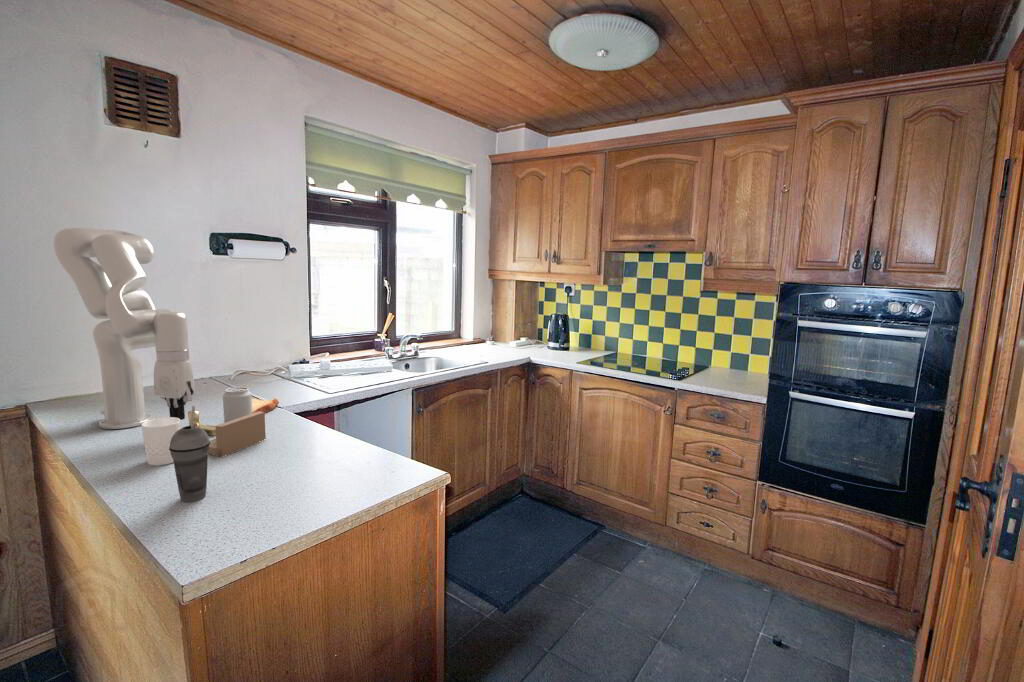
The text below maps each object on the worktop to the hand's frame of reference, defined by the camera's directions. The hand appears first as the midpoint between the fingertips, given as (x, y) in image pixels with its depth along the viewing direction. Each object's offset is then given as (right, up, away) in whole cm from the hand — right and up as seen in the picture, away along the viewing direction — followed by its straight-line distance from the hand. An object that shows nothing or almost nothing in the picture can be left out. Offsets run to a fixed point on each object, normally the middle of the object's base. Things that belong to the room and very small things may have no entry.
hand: (177, 419), depth 140 cm
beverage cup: (+27, -11, -35) cm, 46 cm away
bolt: (+9, -3, -3) cm, 10 cm away
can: (+12, -4, +9) cm, 16 cm away
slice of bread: (+9, -2, +25) cm, 27 cm away
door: (+11, -6, -3) cm, 13 cm away
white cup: (+8, -8, -17) cm, 20 cm away
